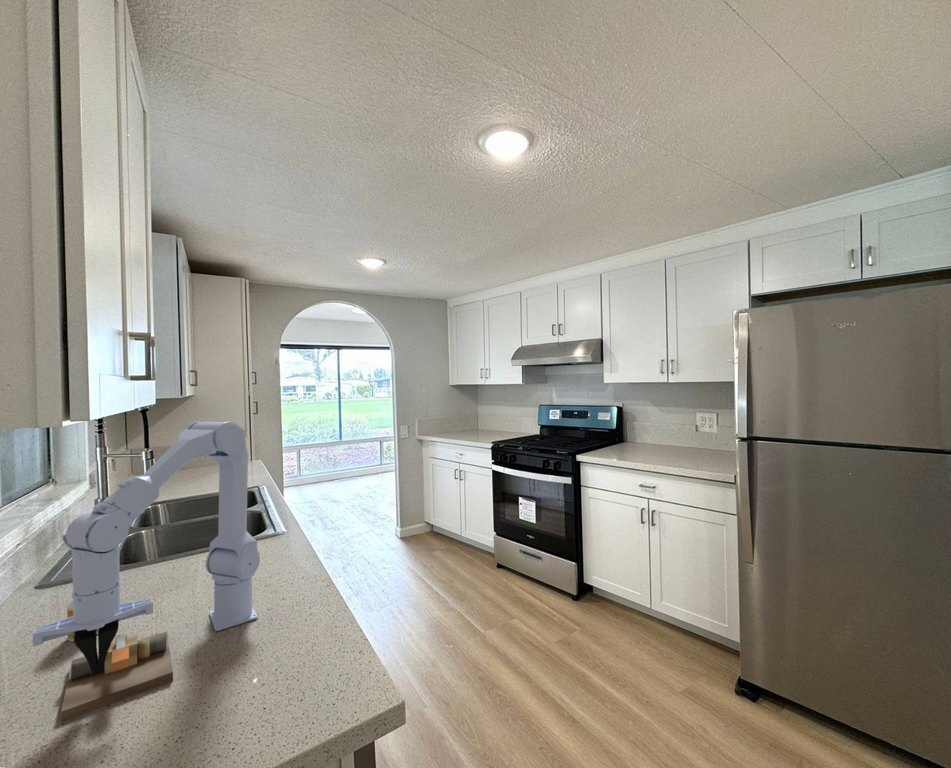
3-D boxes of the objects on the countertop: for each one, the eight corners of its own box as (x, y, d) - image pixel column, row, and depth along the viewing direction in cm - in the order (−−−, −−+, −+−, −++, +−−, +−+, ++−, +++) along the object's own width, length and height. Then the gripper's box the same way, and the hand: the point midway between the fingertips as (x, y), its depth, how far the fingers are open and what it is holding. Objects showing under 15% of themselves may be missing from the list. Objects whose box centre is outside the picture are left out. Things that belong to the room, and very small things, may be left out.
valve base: (72, 668, 78) (71, 640, 78) (166, 638, 86) (166, 613, 87) (61, 721, 65) (60, 688, 65) (173, 680, 74) (172, 651, 74)
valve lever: (113, 642, 77) (113, 634, 77) (129, 637, 78) (129, 629, 78) (111, 672, 68) (111, 663, 68) (129, 666, 70) (128, 657, 70)
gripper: (28, 613, 62) (29, 706, 62) (153, 582, 71) (154, 664, 71) (36, 594, 67) (37, 680, 67) (152, 568, 76) (152, 644, 76)
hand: (97, 671), depth 69 cm, fingers closed
